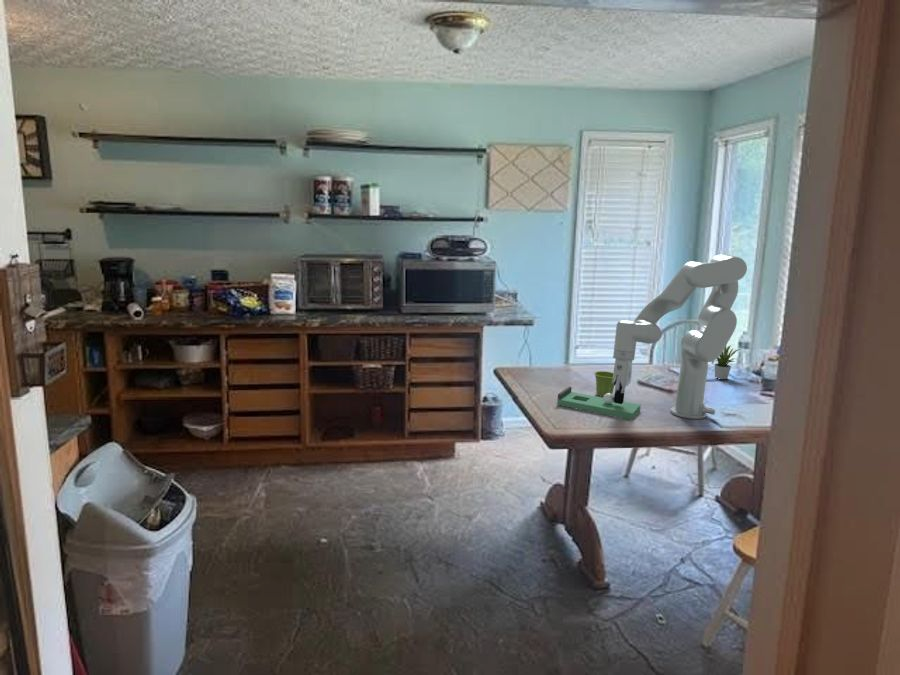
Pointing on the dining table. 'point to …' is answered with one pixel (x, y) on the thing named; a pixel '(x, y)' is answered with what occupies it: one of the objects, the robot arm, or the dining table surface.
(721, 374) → the house plant
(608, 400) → the ball
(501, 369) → the dining table surface
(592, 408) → the green
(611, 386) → the plant pot
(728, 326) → the robot arm
